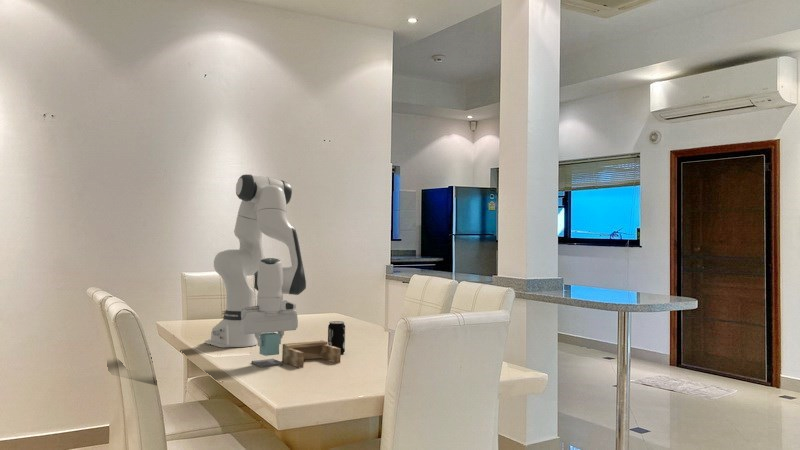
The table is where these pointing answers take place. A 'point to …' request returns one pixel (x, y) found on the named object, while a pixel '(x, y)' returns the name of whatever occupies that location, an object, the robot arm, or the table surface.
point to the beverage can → (337, 335)
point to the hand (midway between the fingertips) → (269, 345)
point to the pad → (267, 362)
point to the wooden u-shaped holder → (309, 352)
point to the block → (269, 344)
